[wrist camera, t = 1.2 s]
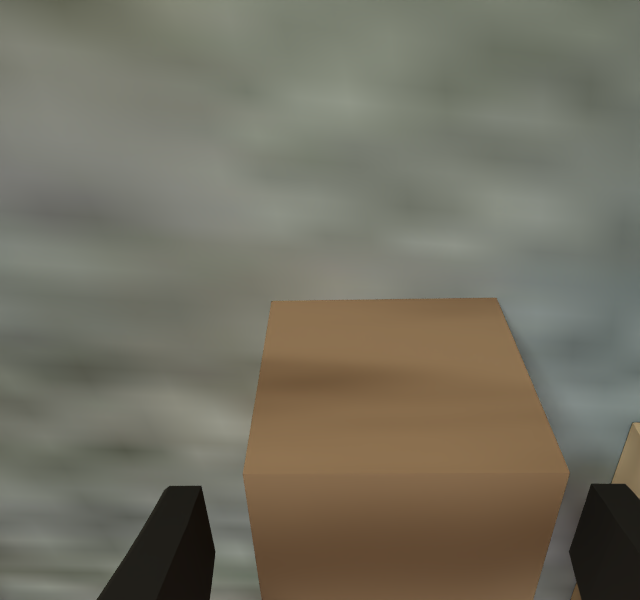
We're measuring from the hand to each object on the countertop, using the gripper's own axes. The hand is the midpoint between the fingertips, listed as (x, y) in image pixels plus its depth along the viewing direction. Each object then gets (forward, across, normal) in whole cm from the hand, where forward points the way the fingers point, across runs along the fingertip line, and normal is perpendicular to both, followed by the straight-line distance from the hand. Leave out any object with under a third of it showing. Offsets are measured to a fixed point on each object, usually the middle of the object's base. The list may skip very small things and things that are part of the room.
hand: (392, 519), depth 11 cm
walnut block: (+4, 0, 0) cm, 4 cm away
